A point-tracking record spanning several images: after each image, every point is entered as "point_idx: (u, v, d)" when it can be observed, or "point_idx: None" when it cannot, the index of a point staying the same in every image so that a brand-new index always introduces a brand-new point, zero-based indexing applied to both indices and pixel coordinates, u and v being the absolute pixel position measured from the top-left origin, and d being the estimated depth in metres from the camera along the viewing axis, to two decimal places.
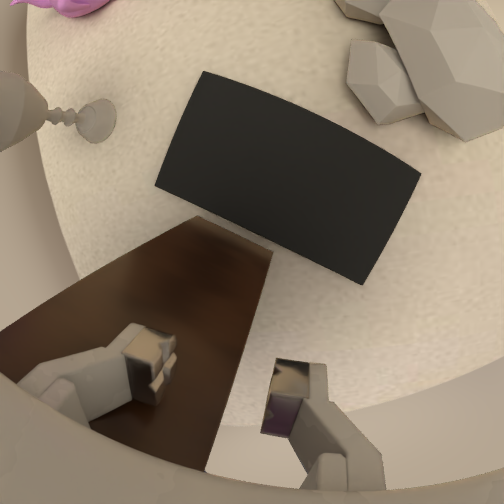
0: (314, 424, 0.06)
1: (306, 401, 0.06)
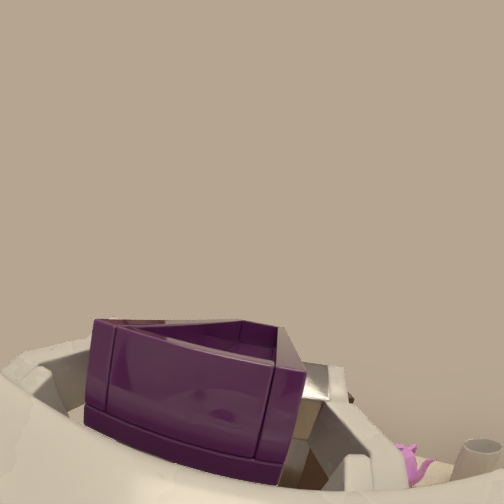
0: (336, 426, 0.06)
1: (327, 404, 0.06)
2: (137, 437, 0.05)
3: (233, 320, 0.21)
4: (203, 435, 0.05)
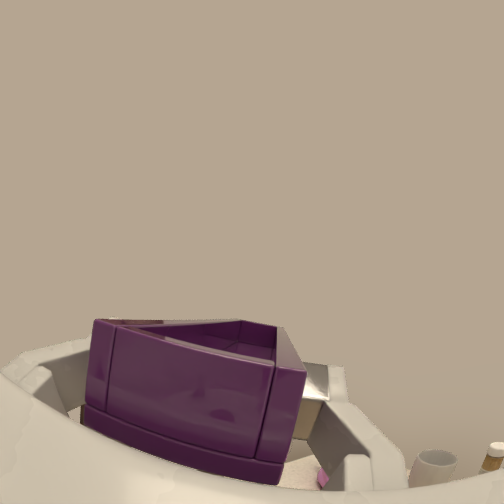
0: (336, 426, 0.06)
1: (327, 404, 0.06)
2: (137, 437, 0.05)
3: (232, 320, 0.21)
4: (203, 435, 0.05)
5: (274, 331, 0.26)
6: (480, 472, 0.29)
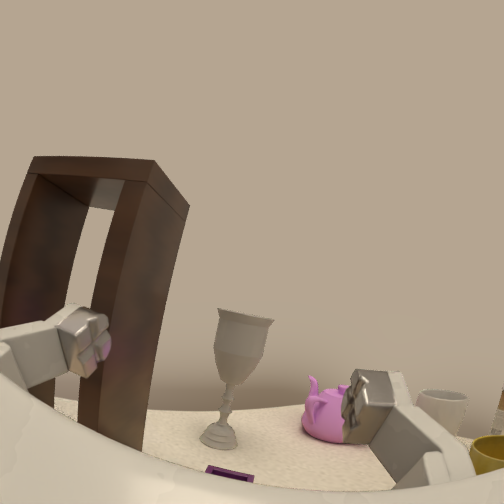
0: (405, 428, 0.06)
1: (397, 408, 0.06)
2: None
3: None
4: None
5: (245, 480, 0.21)
6: (497, 415, 0.28)
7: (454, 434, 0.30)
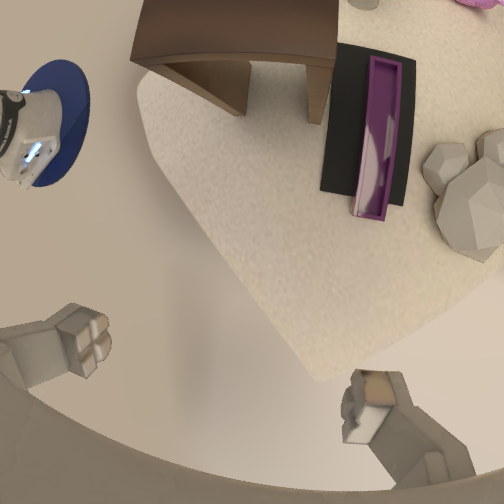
0: (405, 428, 0.06)
1: (397, 408, 0.06)
2: None
3: (372, 92, 0.31)
4: None
5: (395, 66, 0.30)
6: None
7: None
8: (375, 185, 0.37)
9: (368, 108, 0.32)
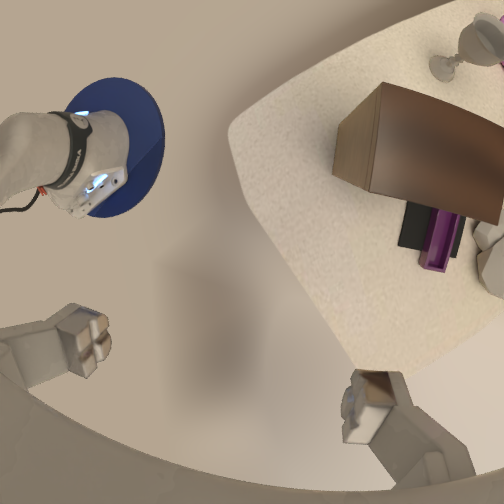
0: (405, 428, 0.06)
1: (397, 408, 0.06)
2: None
3: None
4: None
5: None
6: None
7: None
8: (439, 243, 0.42)
9: None
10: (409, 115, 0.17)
